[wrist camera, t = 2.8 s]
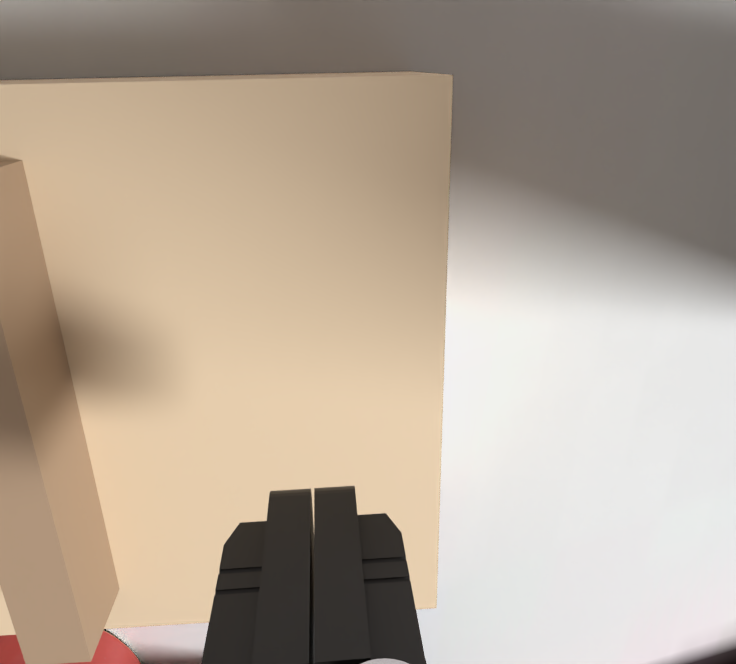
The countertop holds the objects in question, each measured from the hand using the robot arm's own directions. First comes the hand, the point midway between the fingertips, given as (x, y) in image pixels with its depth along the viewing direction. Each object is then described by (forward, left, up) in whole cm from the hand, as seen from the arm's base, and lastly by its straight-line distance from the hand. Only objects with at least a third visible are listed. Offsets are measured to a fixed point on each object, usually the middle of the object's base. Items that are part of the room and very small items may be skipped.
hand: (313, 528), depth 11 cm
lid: (+7, 0, -6) cm, 9 cm away
